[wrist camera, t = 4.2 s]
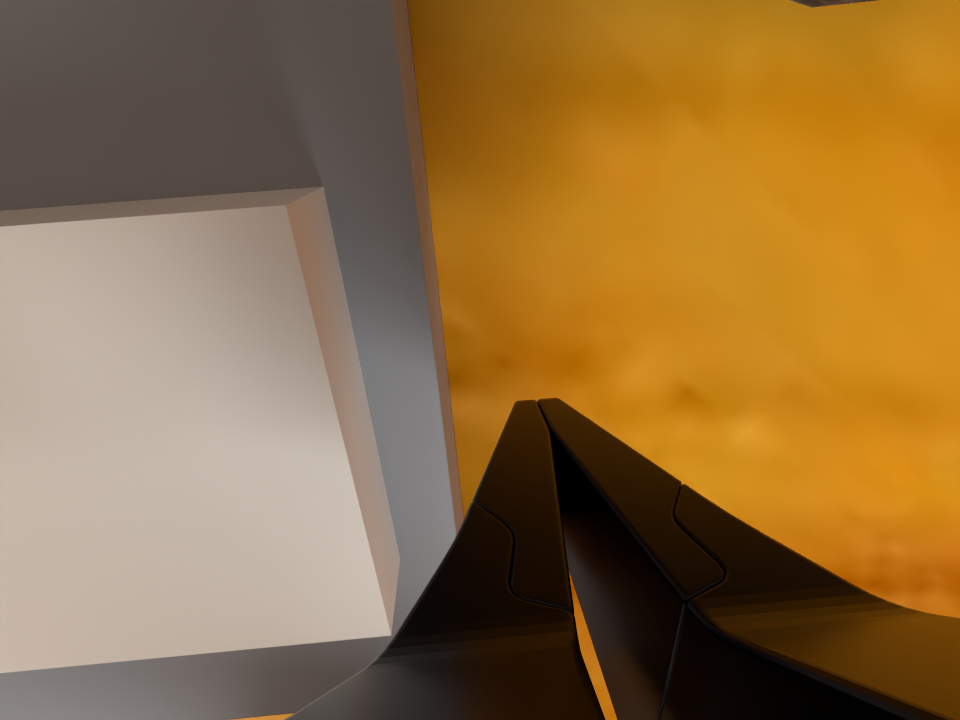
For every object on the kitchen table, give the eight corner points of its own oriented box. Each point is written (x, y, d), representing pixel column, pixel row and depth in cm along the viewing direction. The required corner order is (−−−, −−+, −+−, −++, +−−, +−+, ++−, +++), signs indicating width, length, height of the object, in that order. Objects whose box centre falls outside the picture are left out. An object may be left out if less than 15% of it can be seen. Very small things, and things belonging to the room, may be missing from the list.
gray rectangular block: (470, 584, 18) (475, 694, 15) (61, 623, 18) (-34, 745, 14) (382, -226, 8) (332, -484, 5) (-542, -175, 8) (-1328, -412, 4)
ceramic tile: (399, 558, 12) (391, 635, 10) (42, 592, 12) (-31, 676, 10) (323, 186, 8) (285, 205, 6) (-231, 228, 8) (-440, 259, 6)
